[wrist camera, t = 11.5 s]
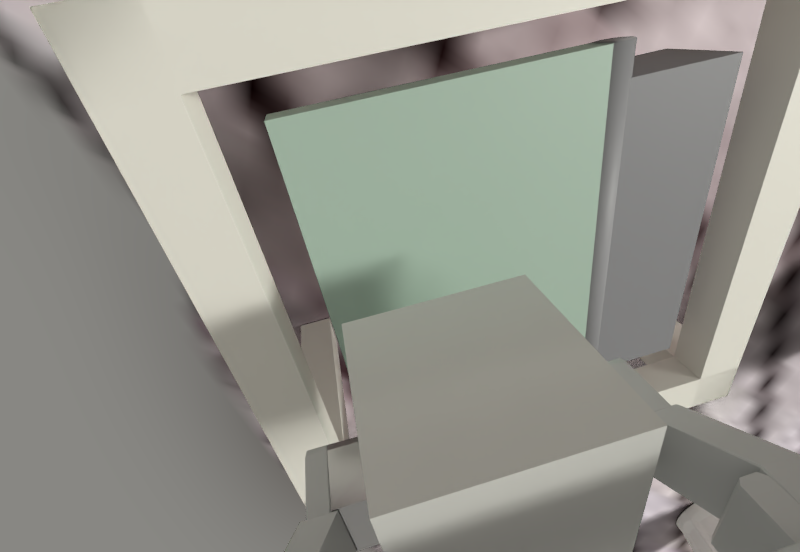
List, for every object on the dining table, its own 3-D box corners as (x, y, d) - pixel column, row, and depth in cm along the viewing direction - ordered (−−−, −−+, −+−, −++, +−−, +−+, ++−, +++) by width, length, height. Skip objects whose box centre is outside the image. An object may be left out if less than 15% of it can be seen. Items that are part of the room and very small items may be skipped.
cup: (681, 543, 63) (747, 630, 54) (649, 524, 57) (718, 619, 48) (753, 498, 60) (836, 582, 51) (727, 473, 54) (816, 564, 45)
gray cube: (525, 274, 11) (666, 425, 7) (526, 400, 14) (628, 565, 9) (341, 323, 10) (369, 519, 6) (379, 444, 13) (417, 638, 9)
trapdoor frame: (607, -62, 20) (941, -164, 10) (580, 272, 31) (727, 395, 21) (182, 22, 19) (29, 6, 8) (309, 347, 29) (316, 525, 19)
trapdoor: (671, 16, 14) (756, 12, 12) (622, 325, 22) (667, 365, 19) (270, 103, 13) (263, 121, 10) (365, 400, 20) (375, 454, 18)
